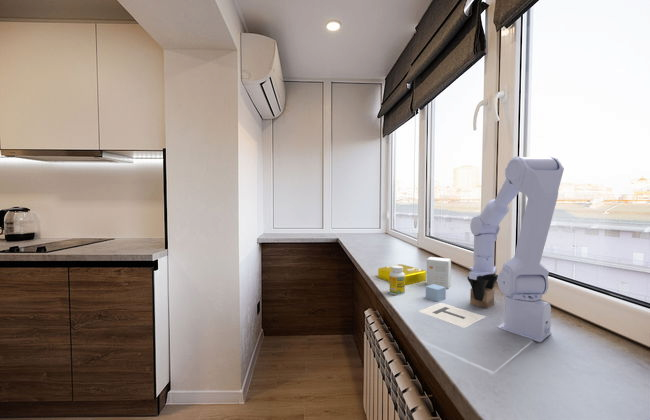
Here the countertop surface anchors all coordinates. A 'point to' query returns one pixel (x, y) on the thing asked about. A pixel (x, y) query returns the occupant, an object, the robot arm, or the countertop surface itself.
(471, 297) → the walnut block
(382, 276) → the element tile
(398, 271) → the supplement bottle
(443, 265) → the small box
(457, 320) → the letter card
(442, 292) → the dusty blue cube
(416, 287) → the countertop surface
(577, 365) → the countertop surface
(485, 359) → the countertop surface
